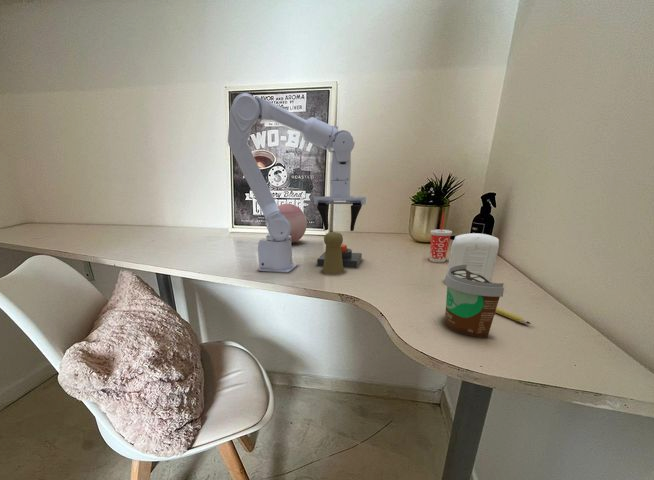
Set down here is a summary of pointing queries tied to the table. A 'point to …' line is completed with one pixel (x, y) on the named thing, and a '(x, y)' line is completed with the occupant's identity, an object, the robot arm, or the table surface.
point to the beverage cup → (439, 244)
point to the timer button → (343, 248)
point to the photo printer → (475, 253)
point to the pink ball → (294, 220)
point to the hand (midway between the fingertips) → (339, 230)
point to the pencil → (511, 316)
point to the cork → (333, 254)
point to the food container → (470, 302)
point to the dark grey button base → (345, 259)
